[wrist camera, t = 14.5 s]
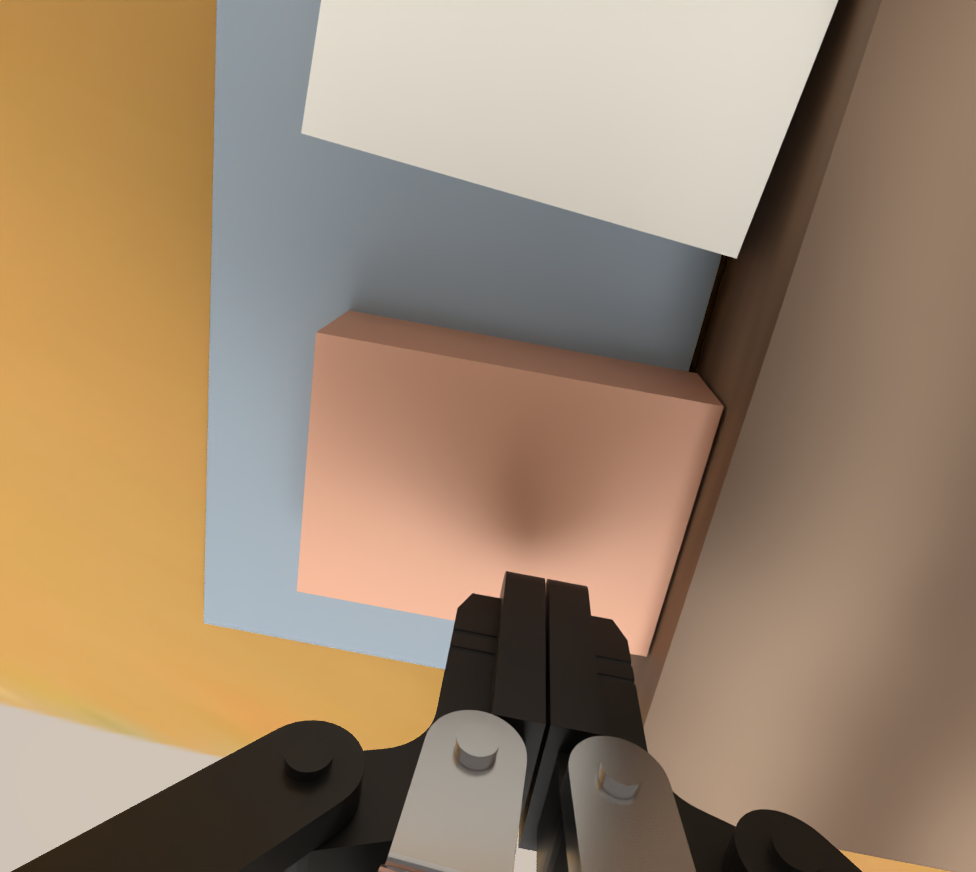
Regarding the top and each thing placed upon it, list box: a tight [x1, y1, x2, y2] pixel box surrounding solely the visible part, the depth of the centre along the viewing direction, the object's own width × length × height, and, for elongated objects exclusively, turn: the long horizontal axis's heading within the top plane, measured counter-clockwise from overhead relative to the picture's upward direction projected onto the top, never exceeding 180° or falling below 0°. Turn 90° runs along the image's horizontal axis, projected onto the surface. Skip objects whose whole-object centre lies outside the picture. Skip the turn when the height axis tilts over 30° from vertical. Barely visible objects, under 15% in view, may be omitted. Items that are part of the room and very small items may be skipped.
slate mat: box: [204, 0, 722, 669], centre depth 15 cm, size 11×20×1 cm, turn 170°
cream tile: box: [301, 0, 838, 259], centre depth 12 cm, size 8×6×2 cm
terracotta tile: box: [297, 310, 724, 657], centre depth 15 cm, size 8×6×2 cm
